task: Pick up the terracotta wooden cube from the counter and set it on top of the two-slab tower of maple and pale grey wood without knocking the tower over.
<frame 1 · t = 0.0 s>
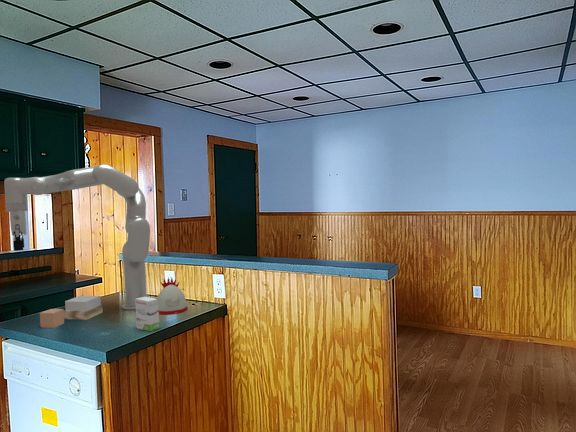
hand: (19, 249, 173), 31 cm above the counter, tool pointing down, fingers open, 9 cm apart
grey top slab: (83, 307, 184), point 4 cm above the counter, touching maple base slab
terracotta cube: (52, 325, 171), on the counter
white dome with spikes: (171, 311, 189), on the counter
maple base slab: (83, 316, 184), on the counter, touching grey top slab
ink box: (147, 328, 164), on the counter
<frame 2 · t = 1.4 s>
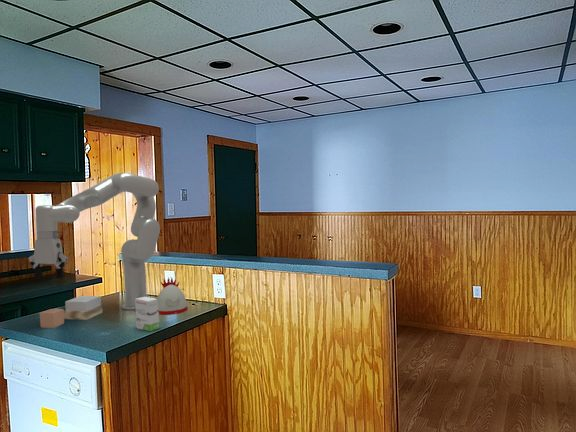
hand: (49, 277, 170), 20 cm above the counter, tool pointing down, fingers open, 9 cm apart
nothing on the counter moved.
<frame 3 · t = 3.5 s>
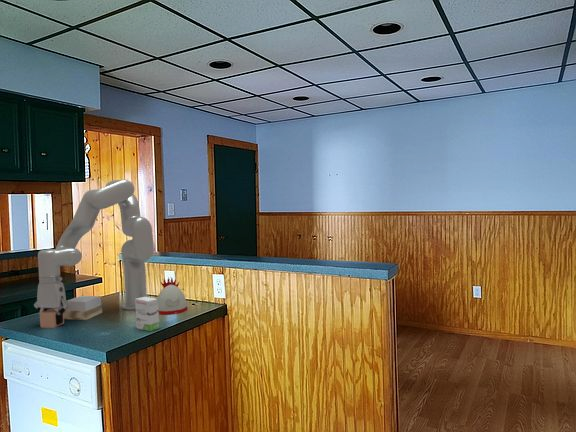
hand: (52, 323, 171), 1 cm above the counter, tool pointing down, fingers closed on terracotta cube, 6 cm apart
terracotta cube: (52, 325, 171), on the counter, touching gripper
everything else where it was.
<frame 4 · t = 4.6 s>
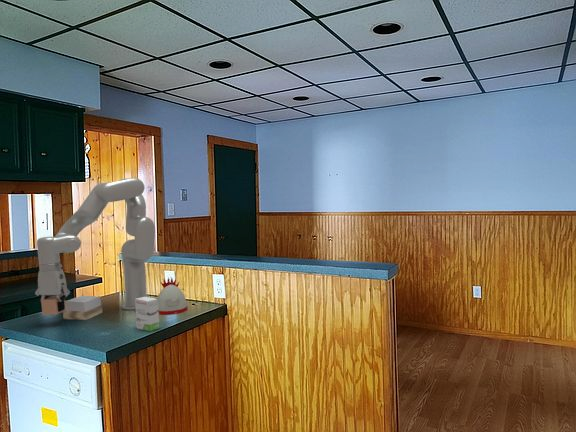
hand: (54, 310, 172), 6 cm above the counter, tool pointing down, fingers closed on terracotta cube, 6 cm apart
terracotta cube: (54, 312, 172), point 5 cm above the counter, touching gripper
everything else where it was.
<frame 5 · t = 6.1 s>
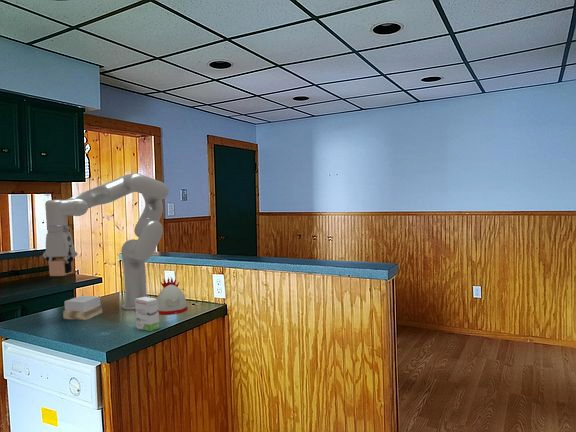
hand: (61, 272, 175), 21 cm above the counter, tool pointing down, fingers closed on terracotta cube, 6 cm apart
terracotta cube: (61, 274, 175), point 20 cm above the counter, touching gripper
everything else where it was.
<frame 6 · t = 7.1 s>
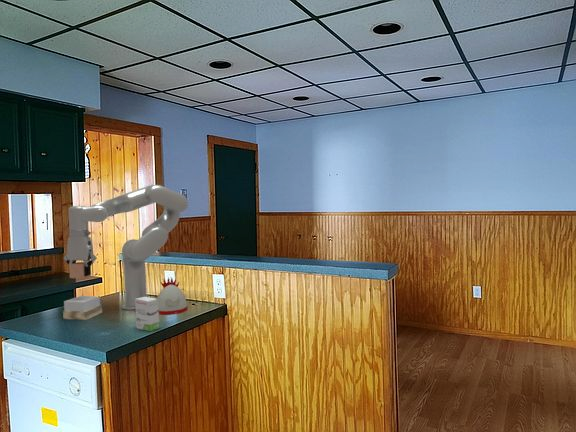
hand: (80, 275, 183), 18 cm above the counter, tool pointing down, fingers closed on terracotta cube, 6 cm apart
terracotta cube: (80, 276, 183), point 17 cm above the counter, touching gripper
everything else where it was.
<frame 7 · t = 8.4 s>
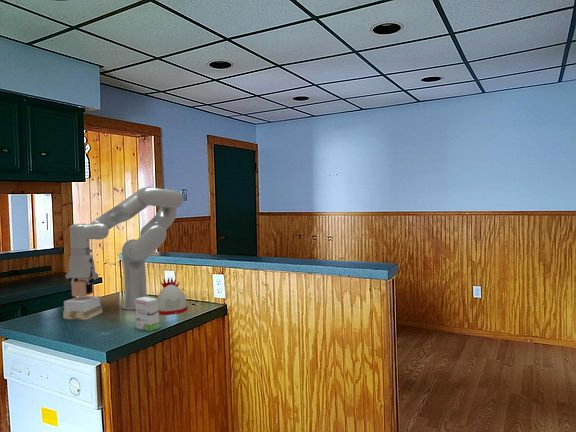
hand: (82, 292, 184), 10 cm above the counter, tool pointing down, fingers closed on terracotta cube, 5 cm apart
terracotta cube: (82, 294, 184), point 9 cm above the counter, touching gripper
everything else where it was.
when the fingers open (10 cm above the counter, at t = 8.5 s): terracotta cube drops 2 cm, point 7 cm above the counter.
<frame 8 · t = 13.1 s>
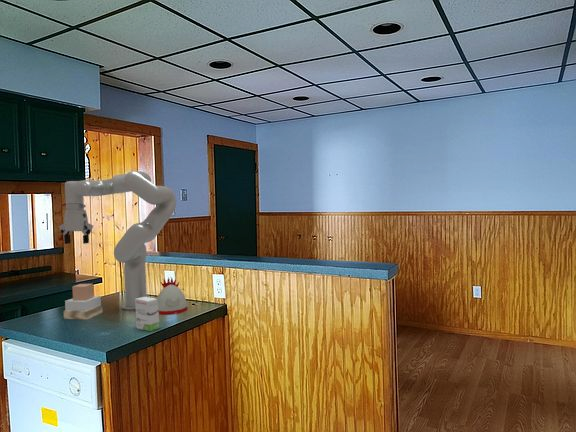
hand: (76, 243, 199), 30 cm above the counter, tool pointing down, fingers open, 9 cm apart
terracotta cube: (83, 298, 184), point 7 cm above the counter
everything else where it was.
at the end: terracotta cube 0.3 cm off-centre on the maple base slab, point 8.0 cm above the maple base slab's base; terracotta cube tilted 0°; grey top slab 0.3 cm off-centre on the maple base slab, point 4.0 cm above the maple base slab's base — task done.
